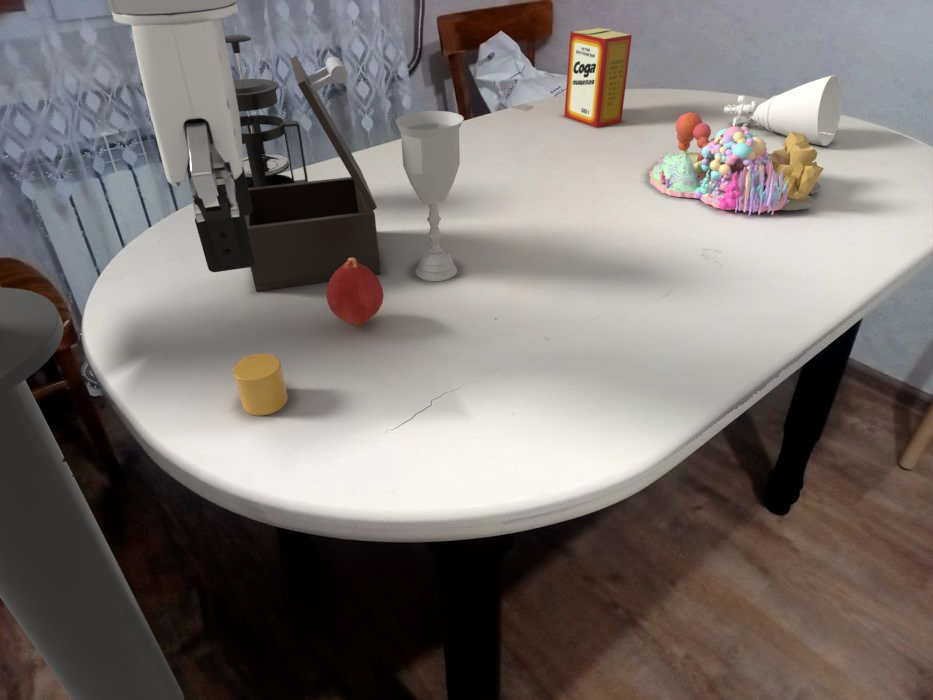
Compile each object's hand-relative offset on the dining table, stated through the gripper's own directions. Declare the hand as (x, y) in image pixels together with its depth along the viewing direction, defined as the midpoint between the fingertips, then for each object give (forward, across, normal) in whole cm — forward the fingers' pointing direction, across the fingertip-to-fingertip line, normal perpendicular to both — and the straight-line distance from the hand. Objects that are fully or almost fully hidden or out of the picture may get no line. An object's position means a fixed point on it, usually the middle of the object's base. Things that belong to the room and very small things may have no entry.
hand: (233, 239), depth 51 cm
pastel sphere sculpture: (+16, -33, +70) cm, 79 cm away
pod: (+16, 0, -1) cm, 16 cm away
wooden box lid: (+1, -27, +10) cm, 29 cm away
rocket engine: (+17, -53, +94) cm, 109 cm away
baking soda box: (+16, -72, +65) cm, 99 cm away
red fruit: (+16, -10, +9) cm, 21 cm away
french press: (+16, -46, +2) cm, 49 cm away
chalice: (+16, -19, +20) cm, 32 cm away
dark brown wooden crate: (+16, -27, +6) cm, 32 cm away
